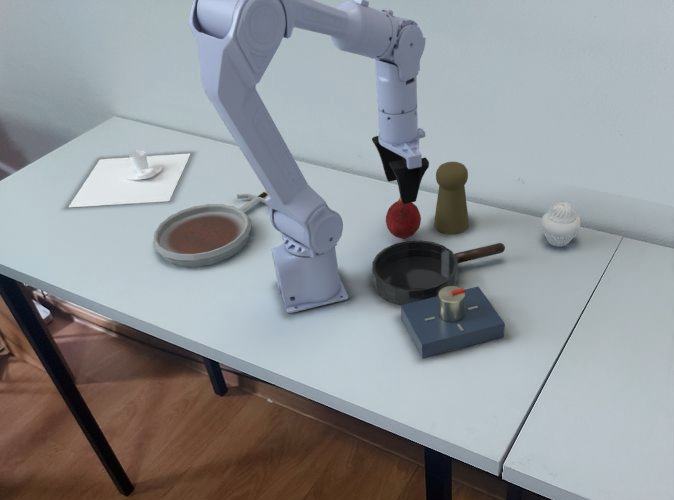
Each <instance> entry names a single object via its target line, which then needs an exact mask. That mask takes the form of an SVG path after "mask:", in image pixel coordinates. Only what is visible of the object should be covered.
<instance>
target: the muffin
mask: <svg viewBox="0 0 674 500" xmlns="http://www.w3.org/2000/svg"><path fill="white" fill-rule="evenodd" d="M540 223H541V229H542V232H543V234H544V236H545V238H546V240H547V242H548V244H549V245H551V246H553V247H557V248H558V247H562V248H563V247H565V246H567V245H568V244H569V243H570V242H571V241H572V240H573V238H574V237H576V235H577V234H578V233H579V232H578V231H579V230H580V229H581V225H582V221H581V218H580V217H579V216H578V215H577V213H576V211H575V207H574V206H573V205H572V204H571V203H569V202H565V201H561V202H560V201H559V202H556V203H555V204H553V205H552V206H551V209H550V210H549V211H547V212H545V214H543V216H542V217H541V221H540Z"/></svg>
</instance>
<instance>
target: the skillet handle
mask: <svg viewBox="0 0 674 500" xmlns="http://www.w3.org/2000/svg"><path fill="white" fill-rule="evenodd" d="M505 250H506V246H505V244H504V243H503V242H498V243H493V244H488V245H484V246H480V247H477V248H472V249H467V250H464V251H459V252H456V253H454V255H455V256H456V258H457V262H458V264H462V263H466V262H469V261H474V260H478V259H483V258H487V257H489V256H495V255H499V254H503V253H504V252H505Z"/></svg>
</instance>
